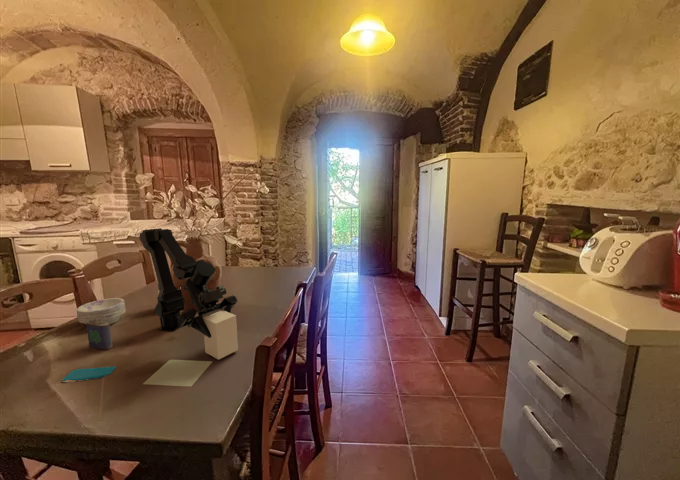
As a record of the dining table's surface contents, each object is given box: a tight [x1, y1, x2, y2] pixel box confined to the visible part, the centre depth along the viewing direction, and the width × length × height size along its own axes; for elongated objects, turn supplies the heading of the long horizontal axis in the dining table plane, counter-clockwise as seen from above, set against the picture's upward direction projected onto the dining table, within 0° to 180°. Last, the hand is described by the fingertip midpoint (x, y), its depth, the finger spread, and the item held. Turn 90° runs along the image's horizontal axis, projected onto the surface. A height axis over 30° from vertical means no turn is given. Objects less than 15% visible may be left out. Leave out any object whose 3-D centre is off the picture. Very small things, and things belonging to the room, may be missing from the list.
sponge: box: [61, 365, 117, 381], centre depth 88 cm, size 2×12×6 cm
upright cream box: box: [203, 310, 239, 360], centre depth 97 cm, size 7×7×12 cm
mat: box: [142, 359, 213, 388], centre depth 89 cm, size 14×12×1 cm
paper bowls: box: [75, 297, 126, 325], centre depth 122 cm, size 15×15×8 cm
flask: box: [85, 318, 114, 351], centre depth 102 cm, size 9×3×11 cm, turn 74°
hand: (221, 332), depth 97 cm, fingers closed on upright cream box, 7 cm apart
